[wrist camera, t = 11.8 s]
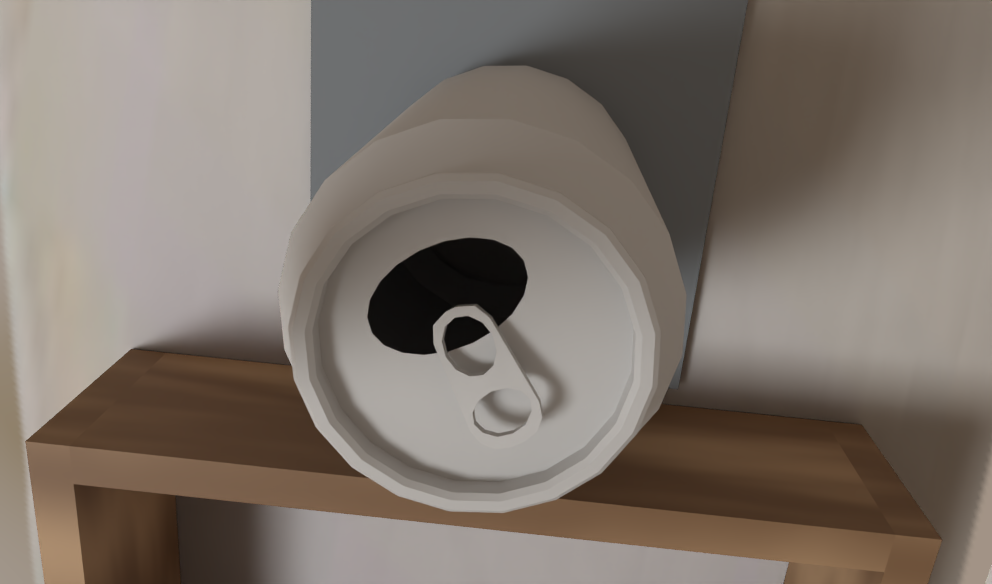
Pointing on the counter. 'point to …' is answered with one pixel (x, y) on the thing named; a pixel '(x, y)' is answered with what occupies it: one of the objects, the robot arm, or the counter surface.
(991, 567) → the robot arm
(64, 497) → the box frame
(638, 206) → the can
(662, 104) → the mat
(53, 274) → the counter surface
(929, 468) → the counter surface
